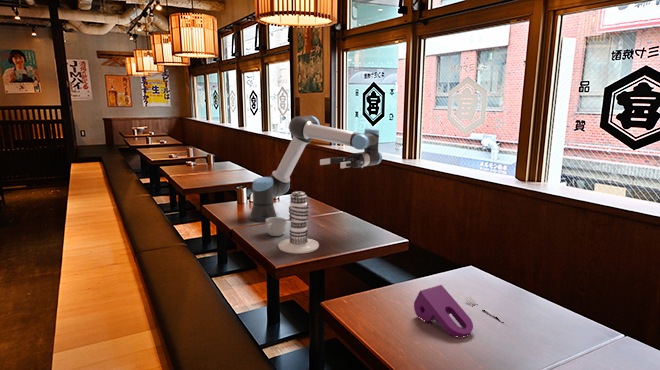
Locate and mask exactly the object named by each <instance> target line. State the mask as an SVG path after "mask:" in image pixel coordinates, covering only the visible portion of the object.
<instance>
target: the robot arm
mask: <svg viewBox="0 0 660 370" xmlns="http://www.w3.org/2000/svg"><path fill="white" fill-rule="evenodd" d="M288 130H289V132H290V134H291V135H292V138H291V141H290V142H289V144H288V147H287V148H286V151H285V153H284V154H283V156H282V158H281V160H280V163H279V164H278V167H277V169H276V170H273V171H272V172H271V175H270V176H262V177H257V178H255V179H254V180H253V181H252V186H251V188H252V208H251V211H250V215H249V217H250V220H251V221H252V222H258V223H259V222H260V223H261V222H262V223H266V219H267V218H270V217H278V216H277V212H276V209H275V206H274V205H275V204H274V198H276V197H280V196H281V197H282V196H283V195H285V194H286V193H287V192H289V189H290V185H291V184H290V182H291V178H290V177H291V175H292V173H293V171H294V168H295V167H296V165H297V164H298V161H299V159H300V158H301V155H302V154H303V152H304V150H305V148H306V146H307V145H308V144H310V143H311V142H312V140H313V139H314V140H318V141H319V140H320V141H323V142H328V143H333V144H338V145H341V146H347V147H352V148H354V149H356V150H361V151H362V152H361V151H360V152H354V153H351V154H350V155H349V156H340V157H339V156H338V157H326V158H322V159H319V165H320V166H324V165H330V164H340V168H339V169H345V168H355V169H356V168H361V169H363V168H364V167H369V166H375V165H379V164H380V163H381V162H382V160H383V155H382V153H381V151H380V150H379V140H380V133H379V132H380V130H379V129H378V128H374V127H373V128H372V127H371V128H365V129H364V132H363V133H361V132H355V131H351V130H347V129H346V130H345V129H341V128H336V127H330V126H326V125H321V124H320V121H319V119H318V118H317V117H315V116H313V115H300V116H295V117H293V118H291V120H290V122H289V124H288Z"/></svg>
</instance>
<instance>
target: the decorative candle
mask: <svg viewBox="0 0 660 370" xmlns="http://www.w3.org/2000/svg"><path fill="white" fill-rule="evenodd" d="M289 197H290V202H289V204H290V206H289V207H288V213H289V215H288V216H289V218H288V219H289V222H290V227H289V235H290V236H289V239H290V245H291V246H293V247H304V246H307V245H308V243H307V242H308V240H307V239H309V237H308V232H309V231H308V225H307V224H308V223H307V222H308V220H309V218H308V216H309V214H308V213H309V211H308V210H307V209H309V203H308V201H307V200H308V195H307V194H306V192H305V191H300V190H299V191H298V190H297V191H296V190H295V191H293V192H291V194H290V195H289Z"/></svg>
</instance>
